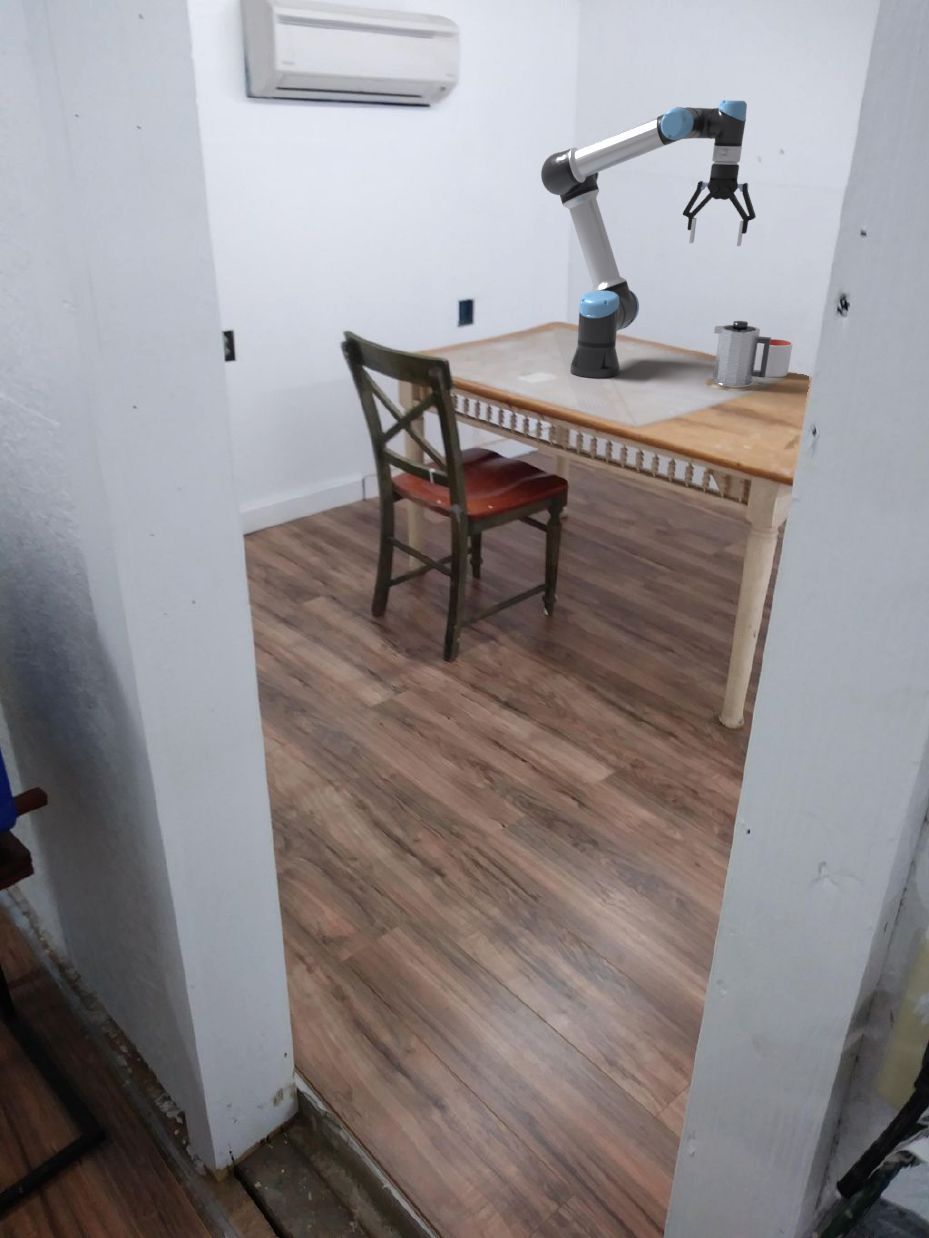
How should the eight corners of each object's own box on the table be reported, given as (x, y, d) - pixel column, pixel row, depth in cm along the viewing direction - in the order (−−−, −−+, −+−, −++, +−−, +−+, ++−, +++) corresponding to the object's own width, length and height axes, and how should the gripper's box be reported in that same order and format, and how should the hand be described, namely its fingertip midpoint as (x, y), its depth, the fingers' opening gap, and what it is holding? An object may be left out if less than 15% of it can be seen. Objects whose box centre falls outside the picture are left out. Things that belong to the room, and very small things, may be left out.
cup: (788, 380, 291) (794, 346, 286) (754, 378, 292) (759, 345, 288) (785, 372, 299) (790, 339, 295) (752, 370, 301) (757, 338, 296)
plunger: (719, 361, 279) (724, 323, 274) (723, 355, 285) (728, 318, 280) (747, 363, 276) (753, 325, 271) (751, 358, 282) (756, 320, 277)
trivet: (700, 389, 280) (700, 387, 280) (709, 377, 293) (709, 375, 293) (756, 395, 275) (756, 393, 275) (763, 382, 288) (763, 380, 288)
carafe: (705, 385, 282) (712, 330, 274) (711, 377, 291) (718, 323, 283) (760, 391, 276) (769, 334, 269) (765, 382, 285) (773, 327, 278)
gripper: (678, 162, 269) (669, 242, 279) (769, 165, 260) (757, 248, 270) (683, 161, 275) (675, 240, 285) (773, 164, 266) (760, 245, 276)
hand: (714, 244), depth 277 cm, fingers open, 13 cm apart
